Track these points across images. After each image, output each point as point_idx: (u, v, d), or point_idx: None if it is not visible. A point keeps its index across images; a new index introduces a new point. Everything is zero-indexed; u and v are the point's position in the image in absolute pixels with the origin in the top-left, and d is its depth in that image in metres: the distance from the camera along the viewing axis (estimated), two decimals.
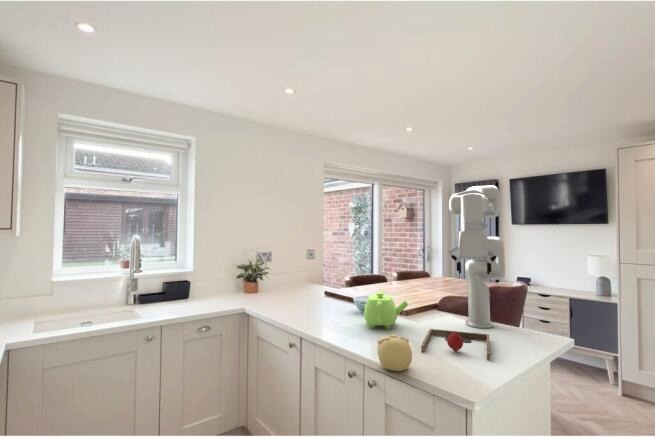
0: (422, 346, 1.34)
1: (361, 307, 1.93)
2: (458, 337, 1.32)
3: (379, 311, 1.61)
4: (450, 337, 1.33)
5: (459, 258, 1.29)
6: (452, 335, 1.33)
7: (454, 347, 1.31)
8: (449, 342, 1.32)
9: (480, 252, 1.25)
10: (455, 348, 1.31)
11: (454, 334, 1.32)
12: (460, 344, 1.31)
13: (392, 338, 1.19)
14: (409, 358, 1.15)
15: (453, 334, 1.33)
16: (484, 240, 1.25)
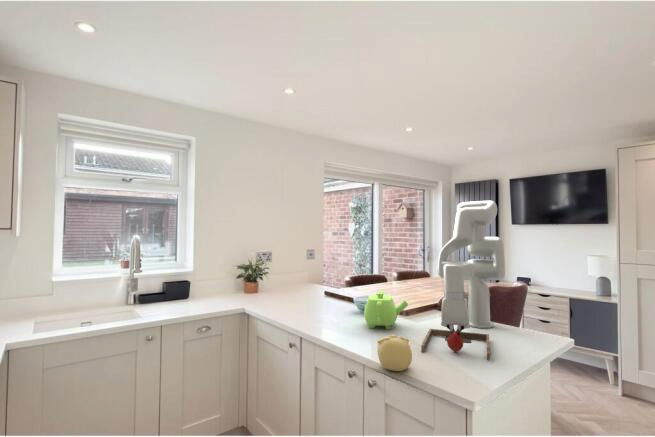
0: (422, 346, 1.34)
1: (361, 307, 1.93)
2: (458, 338, 1.31)
3: (379, 311, 1.61)
4: (450, 338, 1.32)
5: (451, 327, 1.36)
6: (452, 336, 1.32)
7: (454, 348, 1.30)
8: (449, 343, 1.31)
9: (461, 320, 1.34)
10: (455, 349, 1.30)
11: (454, 335, 1.32)
12: (460, 345, 1.30)
13: (392, 338, 1.19)
14: (409, 358, 1.15)
15: (453, 335, 1.32)
16: (465, 309, 1.33)
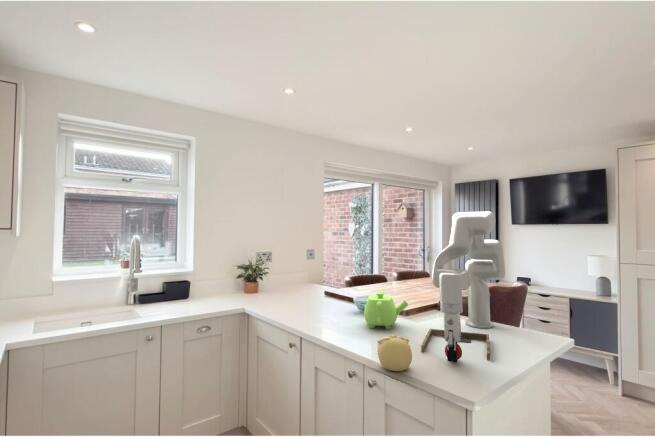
0: (422, 346, 1.34)
1: (361, 307, 1.93)
2: (457, 347, 1.21)
3: (379, 311, 1.61)
4: None
5: None
6: None
7: None
8: None
9: None
10: None
11: None
12: (459, 354, 1.21)
13: (392, 338, 1.19)
14: (409, 358, 1.15)
15: None
16: (444, 323, 1.21)
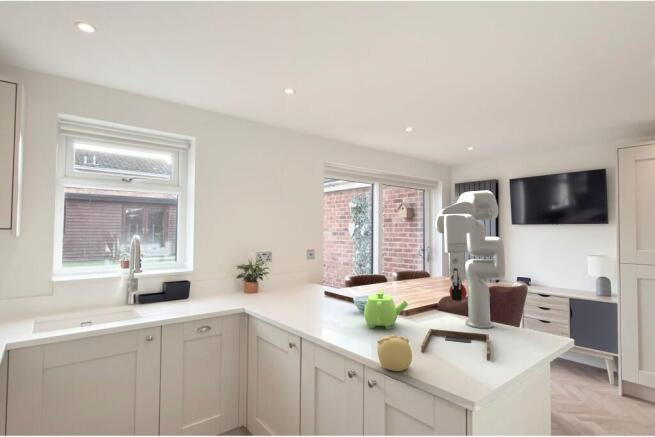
0: (422, 346, 1.34)
1: (361, 307, 1.93)
2: (461, 286, 1.23)
3: (379, 311, 1.61)
4: None
5: None
6: None
7: None
8: None
9: None
10: None
11: None
12: (464, 293, 1.22)
13: (392, 338, 1.19)
14: (409, 358, 1.15)
15: None
16: (449, 263, 1.22)
